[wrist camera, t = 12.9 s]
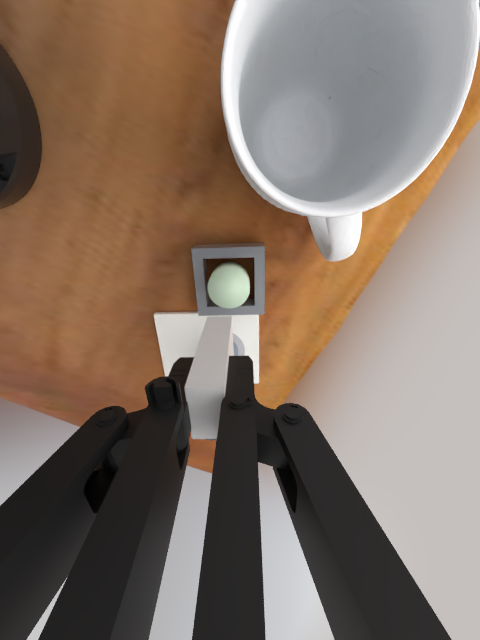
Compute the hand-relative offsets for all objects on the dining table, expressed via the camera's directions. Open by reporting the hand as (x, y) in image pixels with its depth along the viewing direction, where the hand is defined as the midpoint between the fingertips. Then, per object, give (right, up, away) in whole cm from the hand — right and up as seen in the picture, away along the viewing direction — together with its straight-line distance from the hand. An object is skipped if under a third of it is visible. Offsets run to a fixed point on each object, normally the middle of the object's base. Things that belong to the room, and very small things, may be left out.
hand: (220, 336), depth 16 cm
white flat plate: (-3, -2, +16) cm, 16 cm away
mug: (+6, +16, +7) cm, 19 cm away
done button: (0, +5, +11) cm, 12 cm away
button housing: (0, +6, +12) cm, 13 cm away
